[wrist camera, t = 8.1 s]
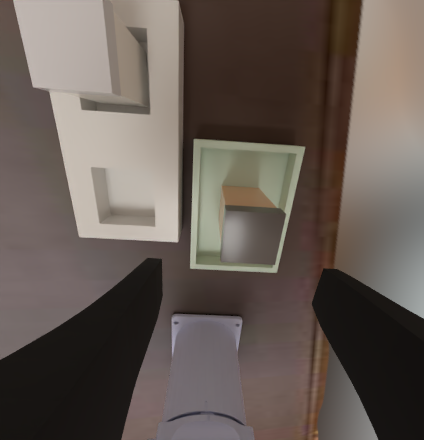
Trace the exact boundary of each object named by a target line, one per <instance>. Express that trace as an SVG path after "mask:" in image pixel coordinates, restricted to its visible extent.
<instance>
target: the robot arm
mask: <svg viewBox="0 0 424 440" xmlns="http://www.w3.org/2000/svg"><path fill="white" fill-rule="evenodd" d="M162 296H163V294H162V259H156V258H147V259H146V260H145V261H144V262H142V263H141V264H140V265H139V266H138V267H137V268H135V269H134V270H133V271H132V272H131V273H130V274H129V275H127V276H126V277H125V278H124V279H123V280H122V281H120V282H119V283H118V284H117V285H116V286H114V287H113V288H112V289H111V290H109V291H108V292H107V293H106V294H104V295H103V296H102V297H100V298H99V299H98V300H96V301H95V302H94V303H92V304H91V305H90V306H88V307H87V308H85V309H84V310H83V311H81V312H80V313H78V314H77V315H75V316H74V317H72V318H71V319H69V320H68V321H66V322H64V323H63V324H61V325H60V326H58V327H57V328H55V329H53V330H52V331H50V332H48V333H47V334H45V335H43V336H42V337H40V338H38V339H36V340H35V341H33V342H31V343H29V344H28V345H26V346H24V347H23V348H21V349H19V350H17V351H16V352H14V353H12V354H10V355H9V356H7V357H5V358H3V359H1V360H0V440H121V438H122V434H123V430H124V426H125V422H126V418H127V414H128V410H129V406H130V402H131V398H132V394H133V390H134V387H135V384H136V380H137V377H138V374H139V371H140V368H141V365H142V362H143V359H144V356H145V354H146V351H147V348H148V345H149V342H150V339H151V336H152V333H153V330H154V327H155V324H156V321H157V318H158V314H159V310H160V305H161V301H162ZM312 306H313V309H314V311H315V314H316V316H317V319H318V321H319V324H320V326H321V328H322V330H323V332H324V333H325V335H326V337H327V339H328V341H329V343H330V344H331V346H332V348H333V350H334V352H335V353H336V355H337V357H338V359H339V360H340V362H341V364H342V366H343V368H344V369H345V371H346V373H347V375H348V376H349V378H350V380H351V382H352V384H353V386H354V388H355V390H356V392H357V394H358V395H359V397H360V400H361V402H362V404H363V406H364V408H365V410H366V413H367V415H368V417H369V419H370V421H371V423H372V426H373V428H374V430H375V433H376V435H377V437H378V440H424V319H423V318H421V317H419V316H418V315H416V314H414V313H412V312H410V311H409V310H407V309H405V308H404V307H401V306H400V305H398V304H397V303H395V302H393V301H392V300H390V299H388V298H386V297H385V296H383V295H381V294H380V293H378V292H376V291H375V290H373V289H371V288H370V287H368V286H366V285H364V284H363V283H361V282H360V281H358V280H356V279H355V278H353V277H351V276H349V275H347V274H345V273H344V272H342V271H339V270H337V269H325V268H324V269H323V272H322V275H321V278H320V281H319V283H318V286H317V289H316V292H315V295H314V298H313V301H312ZM176 321H177V322H176ZM241 328H242V318H241V317H239V316H218V315H194V314H174V315H173V316H172V363H171V369H170V375H169V381H168V387H167V393H166V399H165V405H164V411H163V417H162V422H159V423H158V429H157V435H156V440H255V439H254V433H253V427H251V426H246V418H245V410H244V402H243V394H242V386H241V378H240V370H239V362H238V354H237V351H238V345H239V339H240V333H241ZM147 440H155V439H147Z"/></svg>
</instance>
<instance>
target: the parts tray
mask: <svg viewBox="0 0 424 440" xmlns="http://www.w3.org/2000/svg"><path fill="white" fill-rule="evenodd" d="M304 151H305V147H302V146H295V145H281V144H267V143H253V142H238V141H224V140H210V139H194V150H193V184H192V218H191V253H190V269H208V270H229V271H249V272H270V273H277V270H278V265H279V261H280V256H281V252H282V248H283V243H284V239H285V234H286V230H287V226H288V221H289V217H290V212H291V208H292V204H293V199H294V195H295V190H296V186H297V181H298V177H299V173H300V168H301V164H302V159H303V155H304ZM221 185H222V186H237V187H253V188H260V190H261V191H262V192H263V193H264V194H265V195H266V196H267V197H268V198H269V199H270V201H271V202H272V203H273V204H274V205H275V206H276V207H277V208H281V209H282V210H283V211H284V212H285V213H286V218H285V222H284V227H283V231H282V236H281V240H280V245H279V249H278V254H277V258H276V263H275V265H265V264H246V263H226V262H221V261H220V247H221V242H220V232H219V221H218V219H219V208H220V196H221Z"/></svg>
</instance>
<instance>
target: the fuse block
mask: <svg viewBox="0 0 424 440" xmlns="http://www.w3.org/2000/svg"><path fill="white" fill-rule="evenodd" d="M110 1H111V3H112V4H113V11H114V12H115V14H116V15H117V16H118V17H119V19H120V20H121V21H122V22H123V24H124V25H125V26H126V28H127V29H128V30H129V31H130V33H131V34H132V35H133V36H134V38H135V39H136V40H137V41H138V43H139V44H140V45H141V47H142V48H143V49H144V50H145V52H146V53H147V72H148V93H149V107H137V106H124V105H110V104H102V103H99V102H95V101H92V100H88V99H84V98H81V97H77V96H74V95H70V94H66V93H62V92H50V91H49V92H50V97H51V102H52V106H53V111H54V116H55V121H56V126H57V131H58V136H59V141H60V145H61V150H62V155H63V160H64V165H65V170H66V175H67V179H68V184H69V189H70V194H71V199H72V204H73V209H74V213H75V218H76V223H77V228H78V233H79V237H87V238H106V239H125V240H144V241H163V242H178V241H179V238H180V234H181V231H182V186H183V87H184V21H183V17H182V13H181V8H180V4H179V1H177V0H110Z"/></svg>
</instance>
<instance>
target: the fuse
mask: <svg viewBox="0 0 424 440" xmlns="http://www.w3.org/2000/svg"><path fill="white" fill-rule="evenodd" d="M13 1H14V6H15V10H16V14H17V19H18V23H19V27H20V32H21V36H22V40H23V45H24V49H25V53H26V58H27V62H28V66H29V71H30V75H31V79H32V84H33V87H34V88H38V89H42V90H46V91H50V92H62V93H66V94H70V95H74V96H77V97H81V98H84V99H88V100H92V101H95V102H99V103H102V104H110V105H124V106H137V107H149V93H148V72H147V53H146V52H145V50H144V49H143V48H142V47H141V45H140V44H139V43H138V41H137V40H136V39H135V38H134V36H133V35H132V34H131V33H130V31H129V30H128V29H127V28H126V26H125V25H124V24H123V22H122V21H121V20H120V19H119V17H118V16H117V15H116V14H115V12H114V11H113V4H112V3H111V1H110V0H13Z"/></svg>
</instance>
